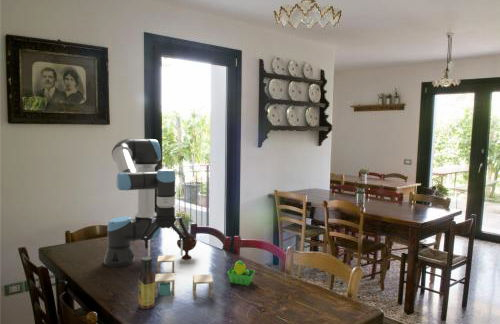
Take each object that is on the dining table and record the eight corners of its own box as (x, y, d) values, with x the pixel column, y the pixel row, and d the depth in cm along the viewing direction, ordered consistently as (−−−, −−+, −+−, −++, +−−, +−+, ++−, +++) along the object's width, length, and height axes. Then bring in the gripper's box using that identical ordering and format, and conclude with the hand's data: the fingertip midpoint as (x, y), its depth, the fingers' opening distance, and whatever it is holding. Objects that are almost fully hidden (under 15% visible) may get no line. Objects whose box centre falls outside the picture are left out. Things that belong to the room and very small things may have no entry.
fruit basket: (255, 281, 180) (255, 257, 179) (248, 288, 171) (249, 263, 170) (232, 277, 183) (233, 254, 182) (225, 284, 175) (226, 260, 174)
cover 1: (157, 275, 183) (157, 261, 182) (158, 269, 191) (158, 255, 190) (174, 274, 185) (174, 260, 184) (174, 268, 192) (174, 255, 192)
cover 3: (193, 298, 159) (193, 282, 158) (192, 290, 167) (192, 275, 166) (212, 297, 160) (213, 281, 160) (210, 289, 168) (211, 274, 168)
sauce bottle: (140, 302, 154) (140, 254, 152) (155, 302, 154) (156, 254, 153) (136, 310, 147) (136, 260, 146) (153, 310, 148) (153, 260, 146)
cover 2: (154, 297, 159) (154, 281, 159) (155, 289, 167) (155, 273, 166) (174, 296, 161) (174, 280, 160) (174, 288, 169) (174, 273, 168)
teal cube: (159, 295, 161) (159, 285, 161) (159, 291, 166) (159, 281, 165) (170, 295, 162) (170, 284, 162) (170, 290, 166) (170, 280, 166)
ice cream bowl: (192, 262, 203) (193, 234, 201) (173, 260, 205) (173, 232, 204) (199, 255, 213) (199, 229, 212) (180, 254, 215) (181, 228, 214)
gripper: (134, 208, 155) (134, 259, 156) (196, 207, 160) (195, 256, 161) (136, 204, 162) (135, 253, 164) (195, 204, 167) (194, 251, 169)
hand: (165, 255), depth 162 cm, fingers open, 13 cm apart
